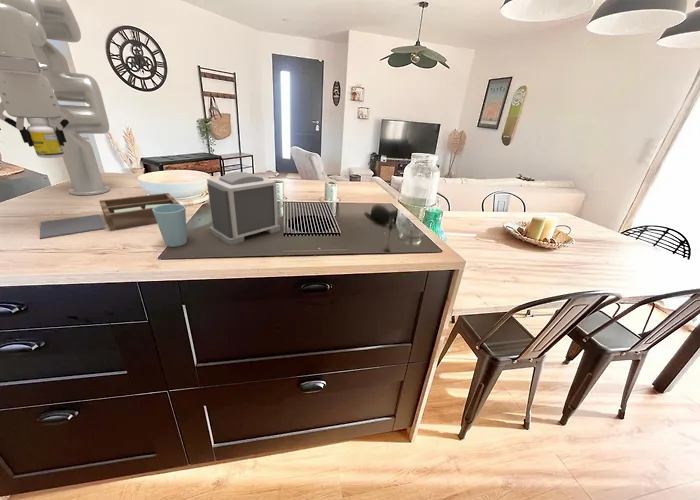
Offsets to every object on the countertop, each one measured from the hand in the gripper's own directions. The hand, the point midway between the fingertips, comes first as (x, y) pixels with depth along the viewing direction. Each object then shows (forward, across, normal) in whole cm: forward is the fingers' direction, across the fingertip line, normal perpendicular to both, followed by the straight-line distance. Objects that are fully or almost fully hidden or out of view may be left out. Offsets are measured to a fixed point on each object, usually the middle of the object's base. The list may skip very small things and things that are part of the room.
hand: (47, 144), depth 79 cm
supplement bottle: (+3, 0, 0) cm, 3 cm away
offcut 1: (+23, -13, +6) cm, 28 cm away
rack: (+23, -17, +2) cm, 29 cm away
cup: (+23, -20, +28) cm, 42 cm away
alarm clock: (+24, -40, +31) cm, 56 cm away
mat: (+23, +1, 0) cm, 23 cm away
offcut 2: (+24, -21, +6) cm, 32 cm away
